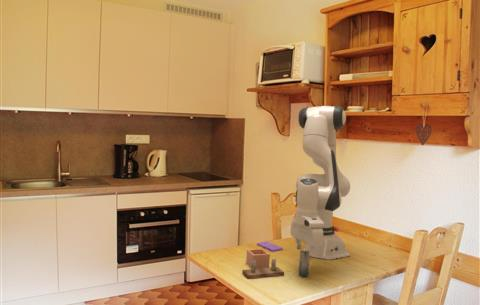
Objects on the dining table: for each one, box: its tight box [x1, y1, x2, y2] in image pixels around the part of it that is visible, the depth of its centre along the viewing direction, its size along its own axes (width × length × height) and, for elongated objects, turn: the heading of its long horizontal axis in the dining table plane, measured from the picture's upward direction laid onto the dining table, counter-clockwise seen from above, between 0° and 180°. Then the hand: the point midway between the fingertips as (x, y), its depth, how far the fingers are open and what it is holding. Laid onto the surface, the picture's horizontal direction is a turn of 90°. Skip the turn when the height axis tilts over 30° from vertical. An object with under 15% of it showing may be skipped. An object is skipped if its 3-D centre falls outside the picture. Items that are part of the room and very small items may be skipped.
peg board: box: [241, 258, 285, 280], centre depth 164 cm, size 16×6×6 cm, turn 111°
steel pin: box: [298, 250, 311, 279], centre depth 165 cm, size 4×4×10 cm
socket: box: [245, 248, 271, 269], centre depth 175 cm, size 8×8×6 cm
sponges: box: [256, 240, 284, 253], centre depth 202 cm, size 7×13×2 cm, turn 36°
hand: (304, 252), depth 164 cm, fingers open, 8 cm apart
